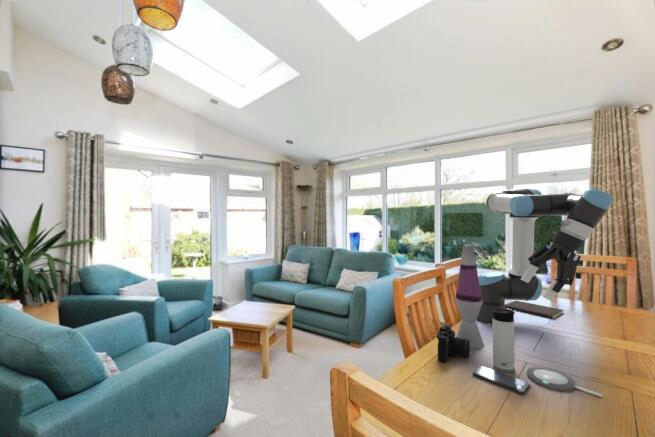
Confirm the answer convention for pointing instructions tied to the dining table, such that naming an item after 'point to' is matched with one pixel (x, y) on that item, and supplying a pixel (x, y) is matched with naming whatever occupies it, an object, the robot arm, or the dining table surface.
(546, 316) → the hardcover book
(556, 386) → the charging pad
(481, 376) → the phone
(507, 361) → the travel mug
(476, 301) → the lamp
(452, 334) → the camera
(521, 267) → the robot arm
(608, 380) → the dining table surface
